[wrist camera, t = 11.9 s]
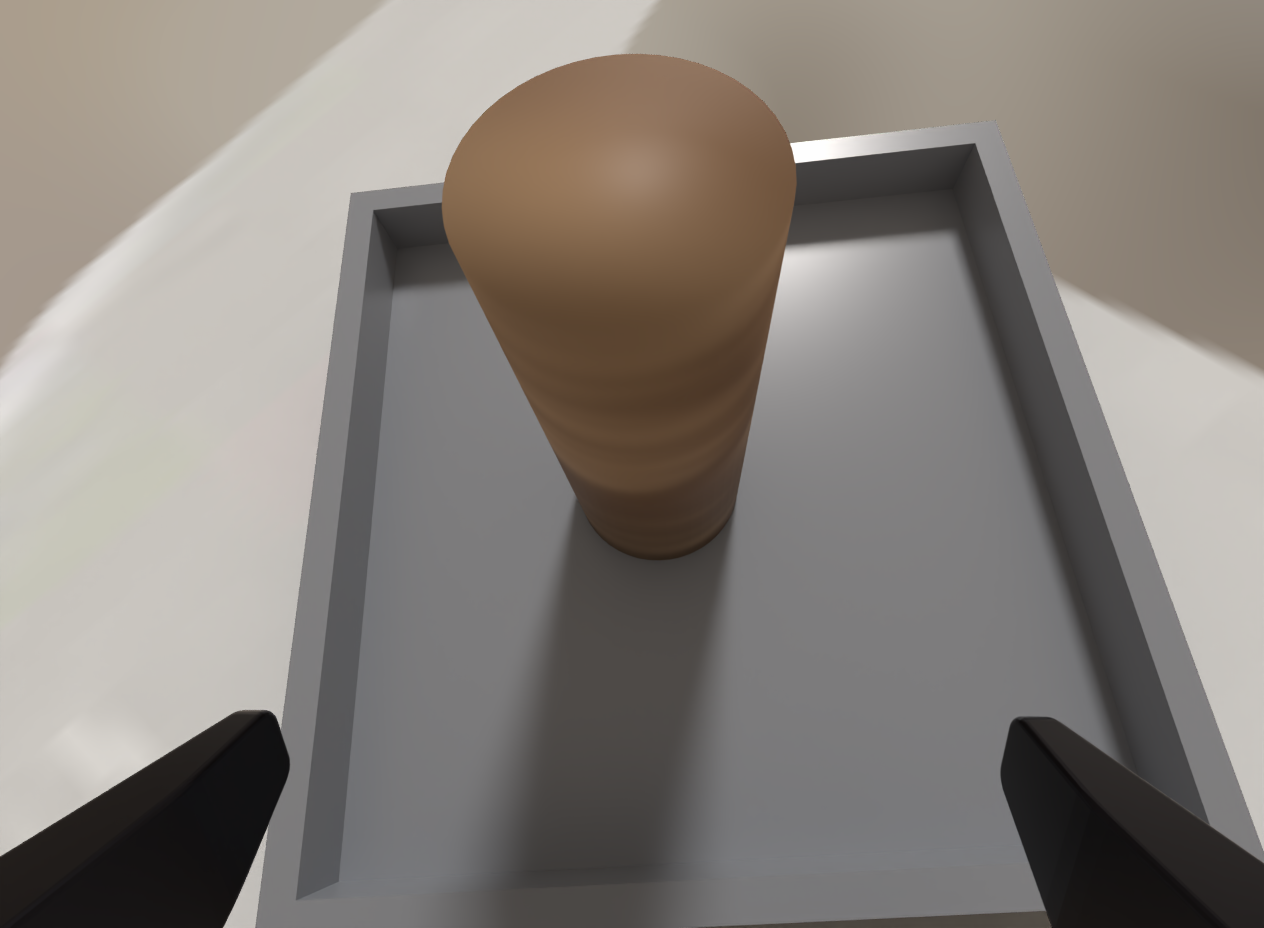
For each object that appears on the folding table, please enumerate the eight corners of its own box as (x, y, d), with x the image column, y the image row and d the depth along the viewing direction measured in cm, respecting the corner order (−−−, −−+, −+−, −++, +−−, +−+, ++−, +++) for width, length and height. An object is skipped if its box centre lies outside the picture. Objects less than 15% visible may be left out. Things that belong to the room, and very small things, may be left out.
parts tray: (1134, 856, 16) (1281, 899, 12) (354, 896, 17) (252, 948, 13) (943, 223, 24) (995, 120, 20) (406, 280, 25) (350, 193, 21)
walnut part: (691, 590, 17) (690, 390, 7) (550, 513, 18) (372, 244, 8) (764, 452, 18) (855, 112, 8) (628, 388, 20) (560, 19, 9)
